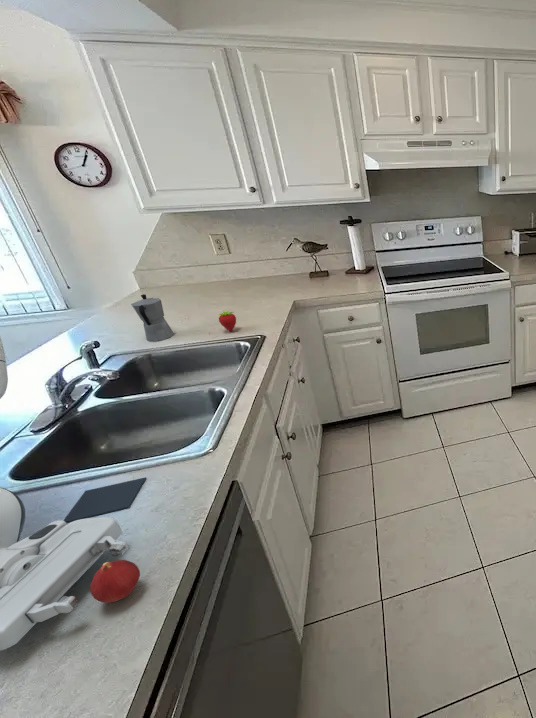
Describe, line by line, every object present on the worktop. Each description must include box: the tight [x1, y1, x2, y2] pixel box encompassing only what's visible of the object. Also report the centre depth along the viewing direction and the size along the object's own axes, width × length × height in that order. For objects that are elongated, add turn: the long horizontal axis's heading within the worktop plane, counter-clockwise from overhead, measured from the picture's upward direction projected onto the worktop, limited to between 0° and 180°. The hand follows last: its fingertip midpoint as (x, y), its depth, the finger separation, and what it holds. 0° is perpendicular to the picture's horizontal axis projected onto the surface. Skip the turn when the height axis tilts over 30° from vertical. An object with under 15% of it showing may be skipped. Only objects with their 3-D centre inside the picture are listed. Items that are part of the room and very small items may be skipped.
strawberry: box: [218, 311, 237, 333], centre depth 166 cm, size 6×8×10 cm
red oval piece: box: [89, 559, 141, 604], centre depth 66 cm, size 6×6×8 cm
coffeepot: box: [130, 293, 175, 343], centre depth 160 cm, size 15×9×18 cm, turn 27°
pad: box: [63, 476, 148, 524], centre depth 87 cm, size 11×9×1 cm
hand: (100, 574), depth 66 cm, fingers open, 8 cm apart
